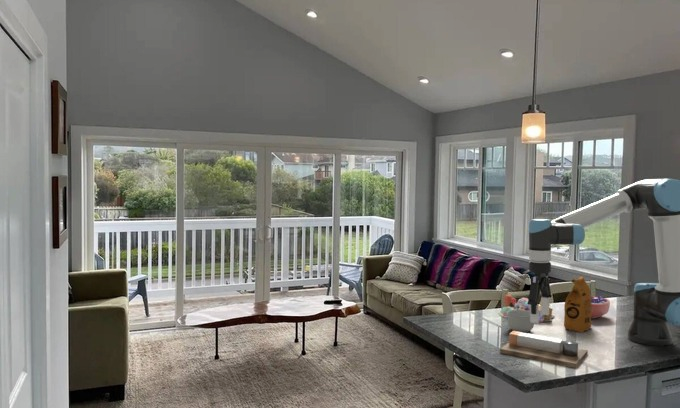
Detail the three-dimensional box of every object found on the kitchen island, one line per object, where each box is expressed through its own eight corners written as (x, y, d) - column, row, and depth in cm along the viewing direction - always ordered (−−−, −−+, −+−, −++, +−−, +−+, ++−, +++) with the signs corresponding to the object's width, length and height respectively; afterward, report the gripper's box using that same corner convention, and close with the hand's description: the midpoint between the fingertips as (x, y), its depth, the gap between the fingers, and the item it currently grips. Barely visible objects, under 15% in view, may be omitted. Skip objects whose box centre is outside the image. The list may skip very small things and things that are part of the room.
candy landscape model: (550, 312, 251) (550, 293, 250) (559, 325, 228) (559, 304, 227) (497, 309, 256) (497, 291, 256) (500, 321, 233) (501, 301, 233)
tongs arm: (560, 352, 184) (561, 341, 184) (559, 354, 182) (559, 342, 182) (511, 342, 195) (511, 332, 194) (509, 344, 193) (509, 333, 193)
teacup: (535, 335, 211) (536, 316, 210) (508, 333, 213) (508, 314, 213) (530, 326, 224) (530, 308, 224) (504, 324, 226) (504, 306, 226)
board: (587, 354, 187) (587, 350, 187) (576, 368, 173) (576, 363, 173) (516, 341, 203) (516, 337, 203) (500, 352, 188) (500, 348, 188)
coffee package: (559, 328, 221) (560, 278, 220) (571, 323, 229) (572, 274, 229) (583, 333, 214) (584, 281, 213) (594, 328, 222) (595, 277, 221)
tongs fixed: (579, 354, 183) (579, 342, 182) (575, 357, 179) (576, 345, 178) (513, 341, 197) (513, 330, 197) (508, 344, 193) (509, 333, 193)
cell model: (618, 317, 240) (619, 293, 240) (595, 324, 229) (596, 299, 228) (584, 310, 254) (584, 287, 254) (560, 315, 243) (561, 292, 242)
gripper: (539, 256, 200) (539, 310, 201) (518, 264, 180) (518, 324, 181) (559, 257, 195) (559, 312, 196) (540, 266, 175) (540, 327, 176)
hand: (539, 318), depth 188 cm, fingers open, 13 cm apart
